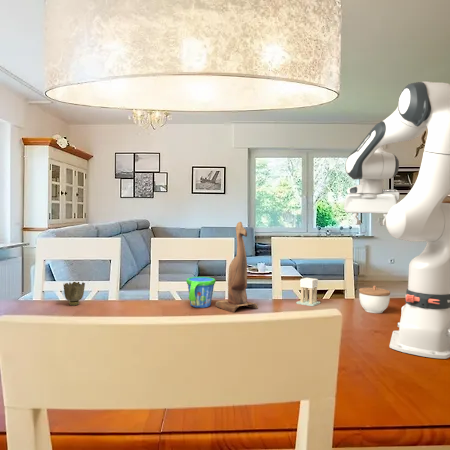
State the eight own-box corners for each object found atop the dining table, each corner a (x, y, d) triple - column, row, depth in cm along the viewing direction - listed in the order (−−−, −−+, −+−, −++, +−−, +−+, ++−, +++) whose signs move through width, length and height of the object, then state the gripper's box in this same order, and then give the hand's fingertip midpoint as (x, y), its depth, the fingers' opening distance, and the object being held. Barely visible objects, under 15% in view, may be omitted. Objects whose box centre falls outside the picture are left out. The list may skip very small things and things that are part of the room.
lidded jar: (392, 315, 149) (392, 289, 148) (360, 313, 151) (360, 287, 151) (386, 309, 159) (387, 284, 159) (357, 307, 161) (357, 282, 161)
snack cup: (202, 312, 149) (202, 283, 148) (176, 308, 153) (177, 280, 153) (222, 303, 162) (223, 277, 162) (198, 300, 167) (199, 274, 167)
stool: (317, 301, 166) (317, 279, 166) (311, 304, 162) (312, 280, 162) (305, 300, 169) (306, 277, 169) (299, 302, 165) (300, 279, 165)
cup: (58, 305, 154) (58, 283, 153) (73, 301, 160) (73, 280, 160) (75, 308, 151) (75, 285, 150) (89, 303, 158) (89, 282, 157)
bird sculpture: (235, 314, 148) (240, 222, 146) (214, 307, 156) (218, 220, 155) (258, 310, 155) (263, 222, 153) (236, 303, 164) (240, 220, 162)
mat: (312, 306, 161) (313, 304, 161) (296, 303, 165) (296, 302, 165) (320, 303, 167) (320, 301, 167) (304, 300, 171) (304, 299, 171)
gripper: (401, 189, 160) (400, 226, 161) (348, 189, 172) (347, 224, 173) (397, 188, 155) (396, 226, 156) (343, 189, 167) (342, 224, 168)
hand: (370, 225), depth 164 cm, fingers open, 8 cm apart
